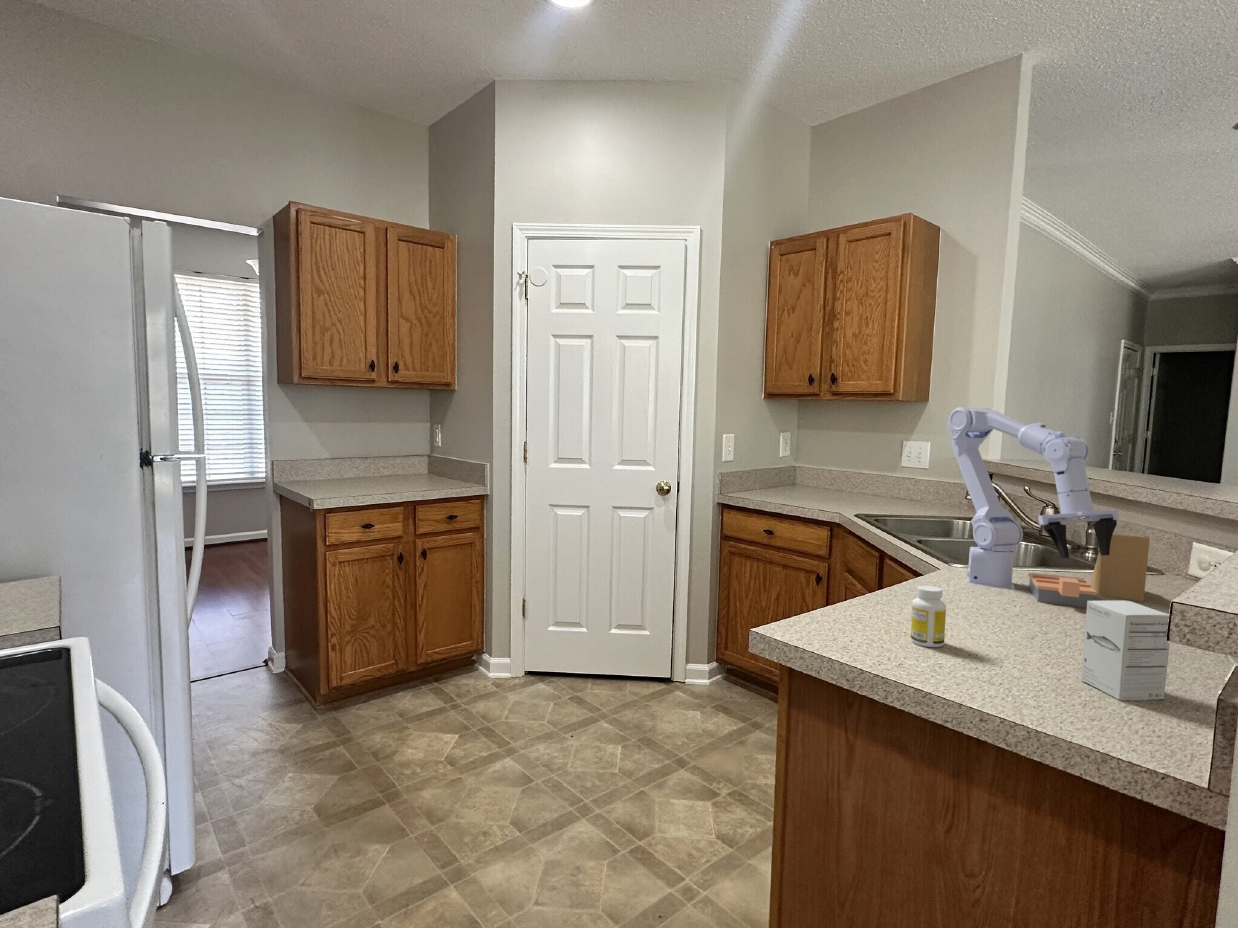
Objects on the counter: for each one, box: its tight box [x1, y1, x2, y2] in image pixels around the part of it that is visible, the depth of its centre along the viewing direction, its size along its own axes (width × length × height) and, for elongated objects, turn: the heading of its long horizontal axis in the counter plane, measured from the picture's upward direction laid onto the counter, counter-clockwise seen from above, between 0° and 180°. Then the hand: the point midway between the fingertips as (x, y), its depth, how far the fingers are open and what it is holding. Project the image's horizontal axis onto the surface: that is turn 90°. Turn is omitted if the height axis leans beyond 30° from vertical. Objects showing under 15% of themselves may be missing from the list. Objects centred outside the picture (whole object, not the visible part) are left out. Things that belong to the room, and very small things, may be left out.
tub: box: [1028, 578, 1095, 609], centre depth 147 cm, size 10×13×4 cm
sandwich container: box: [1089, 533, 1151, 602], centre depth 155 cm, size 9×15×15 cm, turn 151°
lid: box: [1027, 572, 1098, 597], centre depth 145 cm, size 11×18×3 cm, turn 155°
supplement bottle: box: [910, 585, 947, 648], centre depth 117 cm, size 5×5×10 cm
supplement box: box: [1080, 600, 1171, 701], centre depth 98 cm, size 7×7×13 cm
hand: (1085, 556), depth 139 cm, fingers open, 7 cm apart
